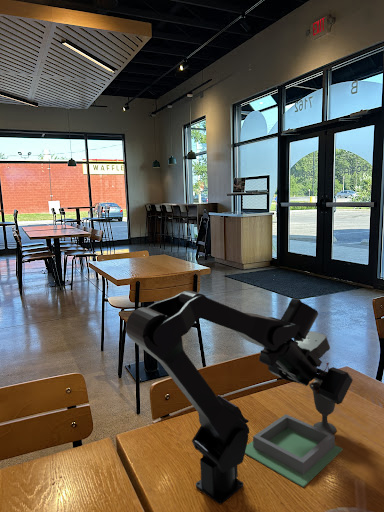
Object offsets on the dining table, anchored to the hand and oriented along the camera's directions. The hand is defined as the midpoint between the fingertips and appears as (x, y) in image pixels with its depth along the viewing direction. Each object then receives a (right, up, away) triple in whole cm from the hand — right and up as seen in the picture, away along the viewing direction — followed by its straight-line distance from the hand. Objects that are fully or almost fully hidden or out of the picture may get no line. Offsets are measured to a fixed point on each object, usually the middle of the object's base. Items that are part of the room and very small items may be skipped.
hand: (324, 390), depth 85 cm
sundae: (0, -9, +1) cm, 9 cm away
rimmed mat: (-8, -10, -5) cm, 14 cm away
